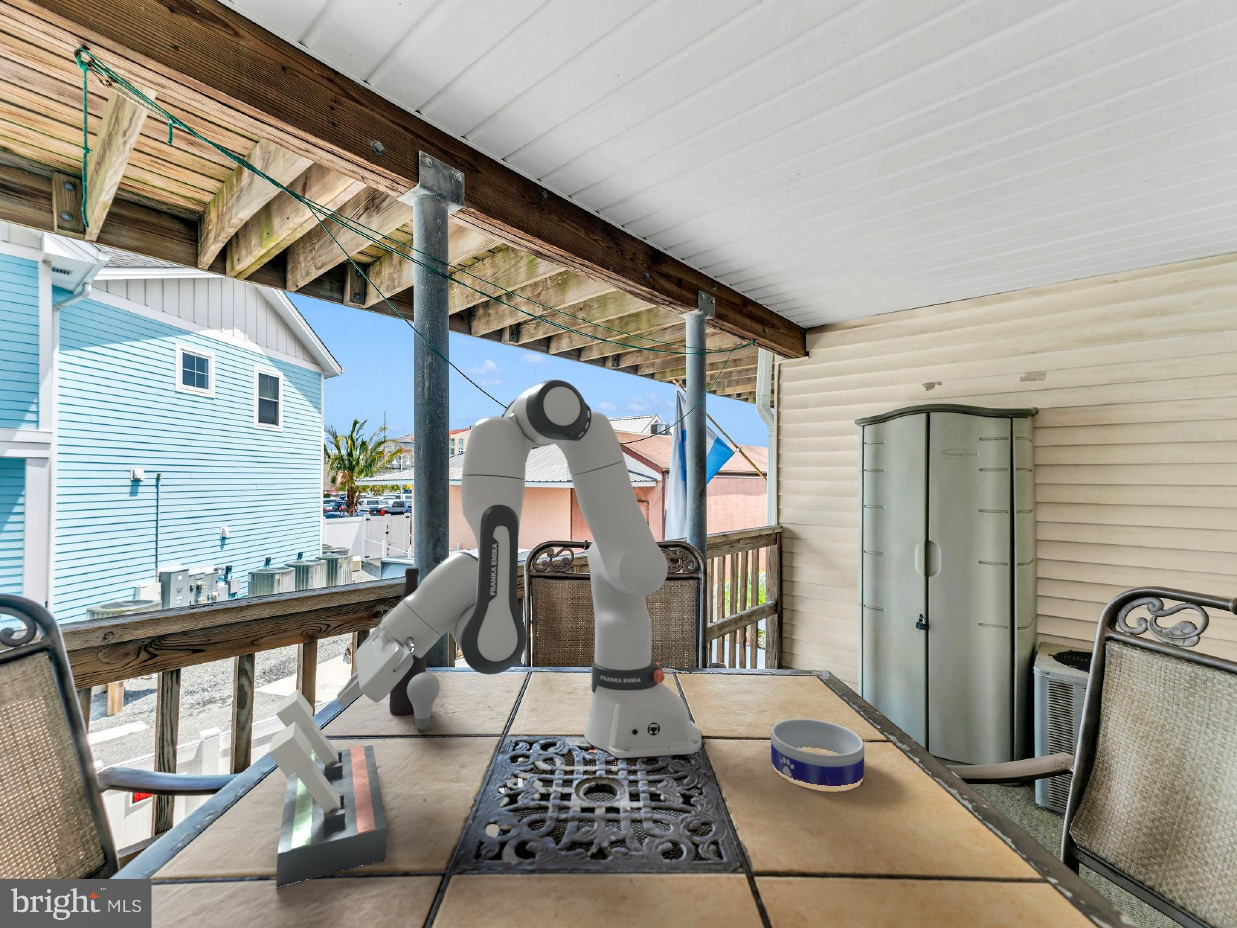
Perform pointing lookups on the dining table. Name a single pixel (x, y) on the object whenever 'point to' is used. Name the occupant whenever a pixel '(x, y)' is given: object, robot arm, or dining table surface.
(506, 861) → the dining table surface
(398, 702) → the wine bottle
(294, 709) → the lever
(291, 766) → the on lever
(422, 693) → the lightbulb
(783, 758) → the dog bowl
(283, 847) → the breaker box
